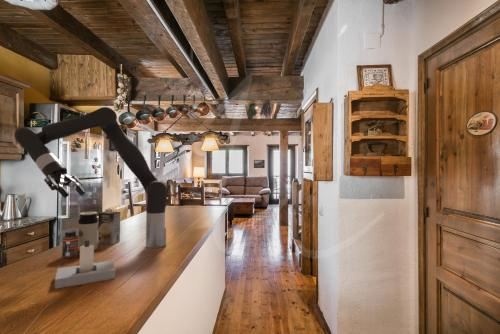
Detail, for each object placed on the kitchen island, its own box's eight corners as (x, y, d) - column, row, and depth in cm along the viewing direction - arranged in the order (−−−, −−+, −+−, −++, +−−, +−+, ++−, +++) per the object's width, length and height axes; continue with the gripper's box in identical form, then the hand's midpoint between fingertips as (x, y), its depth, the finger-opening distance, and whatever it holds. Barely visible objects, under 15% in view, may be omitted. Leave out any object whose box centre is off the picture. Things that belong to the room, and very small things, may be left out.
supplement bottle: (70, 259, 123) (70, 233, 123) (58, 258, 124) (59, 232, 124) (81, 255, 129) (81, 230, 129) (69, 254, 130) (70, 229, 130)
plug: (85, 274, 106) (86, 239, 106) (96, 274, 105) (96, 239, 105) (76, 278, 101) (77, 242, 101) (87, 279, 100) (87, 242, 101)
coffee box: (97, 243, 149) (97, 212, 149) (105, 240, 155) (105, 211, 156) (112, 244, 148) (113, 213, 148) (120, 241, 154) (121, 211, 154)
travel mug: (94, 246, 143) (94, 211, 143) (99, 250, 137) (99, 212, 137) (76, 249, 137) (76, 212, 137) (80, 253, 131) (81, 214, 131)
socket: (112, 268, 113) (112, 260, 113) (115, 278, 102) (115, 270, 102) (57, 276, 103) (57, 268, 103) (54, 288, 93) (55, 279, 93)
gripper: (41, 159, 109) (67, 190, 107) (70, 160, 123) (93, 187, 121) (29, 173, 110) (54, 203, 108) (59, 172, 124) (82, 199, 122)
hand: (75, 195), depth 115 cm, fingers open, 8 cm apart
